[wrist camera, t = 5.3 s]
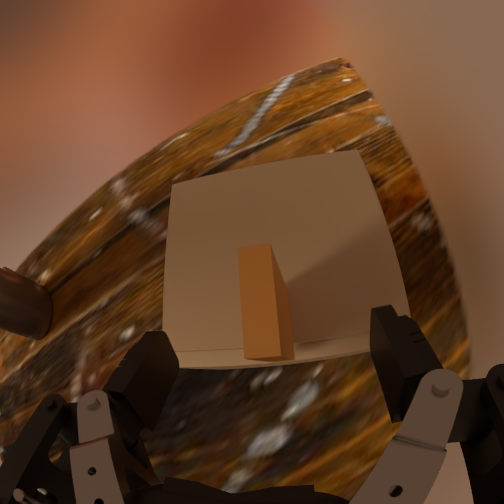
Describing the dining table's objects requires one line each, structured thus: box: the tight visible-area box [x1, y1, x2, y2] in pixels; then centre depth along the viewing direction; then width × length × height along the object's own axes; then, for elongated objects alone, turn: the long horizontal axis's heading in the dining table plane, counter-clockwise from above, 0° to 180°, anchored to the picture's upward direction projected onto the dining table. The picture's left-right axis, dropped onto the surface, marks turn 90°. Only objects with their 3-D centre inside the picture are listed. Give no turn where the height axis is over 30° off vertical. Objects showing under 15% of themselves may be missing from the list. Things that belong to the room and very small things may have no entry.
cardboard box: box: [175, 158, 411, 369], centre depth 23 cm, size 14×16×12 cm
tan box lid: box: [163, 150, 410, 362], centre depth 15 cm, size 14×15×7 cm
